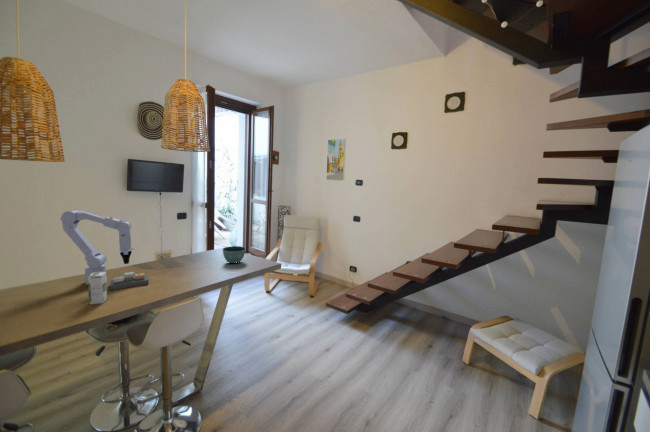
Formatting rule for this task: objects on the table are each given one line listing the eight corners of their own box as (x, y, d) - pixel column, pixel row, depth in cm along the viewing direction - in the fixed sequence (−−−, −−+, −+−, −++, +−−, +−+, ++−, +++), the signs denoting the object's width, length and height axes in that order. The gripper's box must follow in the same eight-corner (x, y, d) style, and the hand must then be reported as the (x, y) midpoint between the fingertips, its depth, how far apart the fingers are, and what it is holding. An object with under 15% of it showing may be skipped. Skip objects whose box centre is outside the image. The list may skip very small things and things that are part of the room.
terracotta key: (135, 283, 164) (135, 276, 163) (135, 281, 167) (134, 274, 167) (144, 282, 166) (144, 275, 166) (144, 280, 170) (143, 272, 169)
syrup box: (93, 300, 142) (91, 272, 140) (108, 298, 144) (106, 271, 142) (89, 304, 137) (86, 276, 135) (103, 303, 139) (101, 275, 137)
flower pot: (247, 259, 221) (247, 246, 219) (242, 266, 205) (242, 251, 203) (226, 259, 220) (226, 246, 218) (220, 265, 204) (219, 251, 202)
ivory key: (114, 287, 158) (113, 279, 158) (114, 284, 162) (113, 277, 161) (123, 285, 161) (123, 278, 160) (123, 283, 164) (123, 275, 164)
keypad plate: (110, 290, 155) (109, 285, 155) (110, 284, 163) (110, 280, 163) (148, 284, 165) (148, 279, 165) (147, 278, 173) (147, 275, 173)
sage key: (124, 282, 161) (124, 275, 160) (124, 280, 164) (124, 272, 164) (134, 281, 163) (133, 273, 163) (133, 279, 167) (133, 271, 166)
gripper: (133, 243, 165) (134, 265, 167) (132, 238, 177) (134, 259, 178) (118, 244, 161) (120, 267, 163) (119, 239, 173) (120, 261, 174)
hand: (126, 263), depth 170 cm, fingers closed
